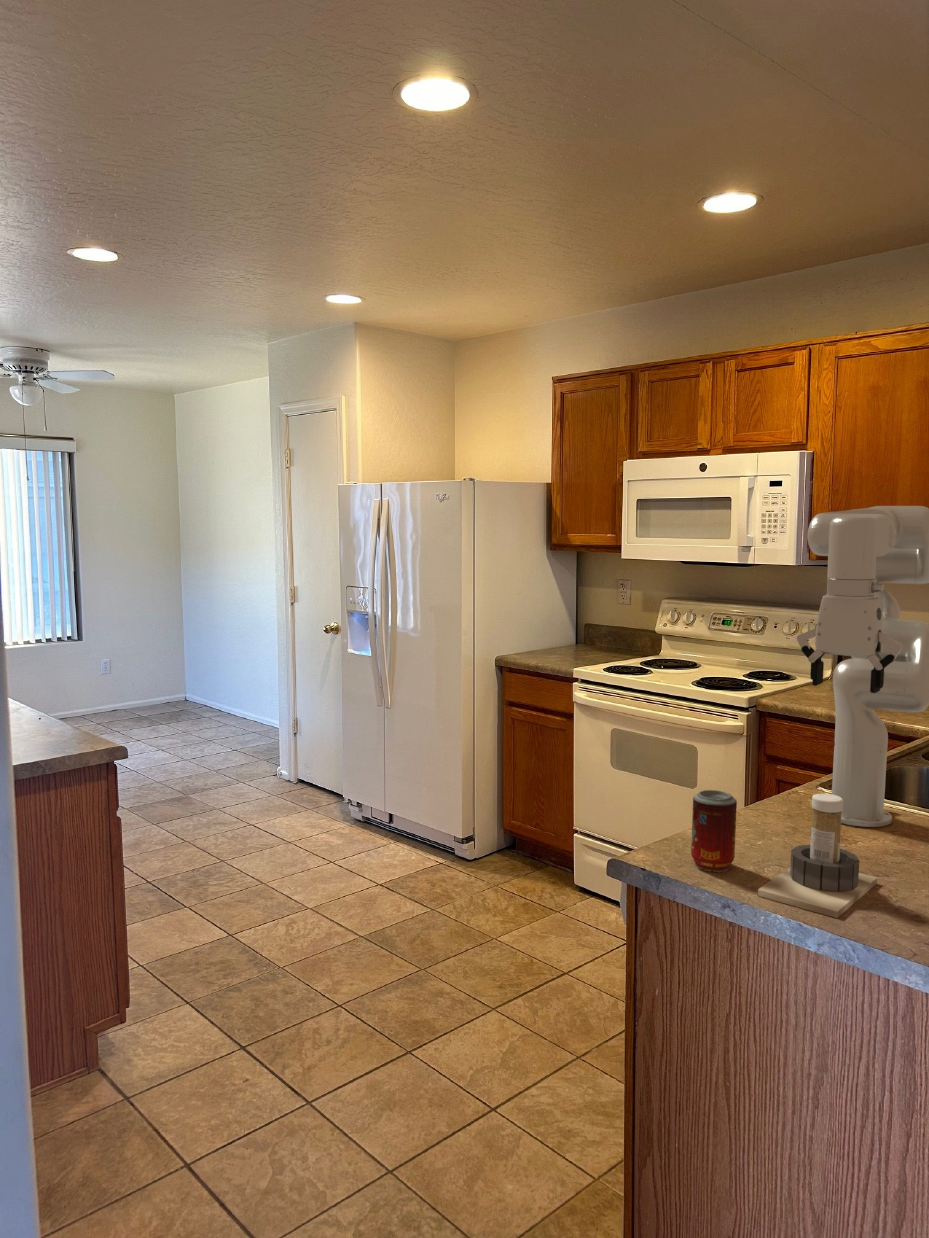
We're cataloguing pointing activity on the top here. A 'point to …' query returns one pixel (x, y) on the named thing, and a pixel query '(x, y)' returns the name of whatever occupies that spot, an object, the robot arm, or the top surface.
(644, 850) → the top surface
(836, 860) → the sprinkles bottle
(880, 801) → the robot arm
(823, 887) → the collar stand
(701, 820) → the soda can
